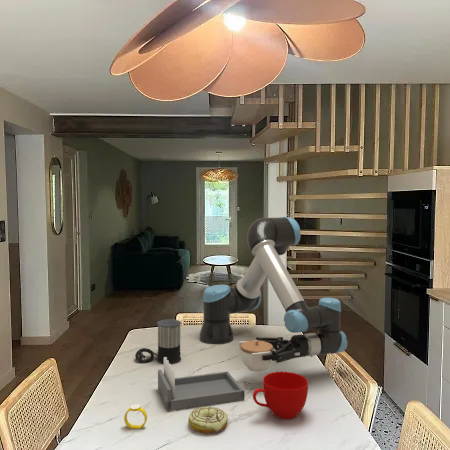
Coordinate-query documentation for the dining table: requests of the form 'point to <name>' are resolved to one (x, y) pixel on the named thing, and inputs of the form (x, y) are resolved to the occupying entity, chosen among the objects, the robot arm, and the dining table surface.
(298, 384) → the ceramic cup
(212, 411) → the decorated donut
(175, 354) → the milk frother
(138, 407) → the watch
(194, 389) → the dish rack
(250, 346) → the lidded jar
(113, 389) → the dining table surface
